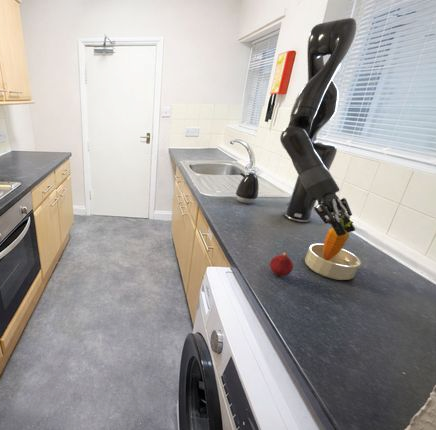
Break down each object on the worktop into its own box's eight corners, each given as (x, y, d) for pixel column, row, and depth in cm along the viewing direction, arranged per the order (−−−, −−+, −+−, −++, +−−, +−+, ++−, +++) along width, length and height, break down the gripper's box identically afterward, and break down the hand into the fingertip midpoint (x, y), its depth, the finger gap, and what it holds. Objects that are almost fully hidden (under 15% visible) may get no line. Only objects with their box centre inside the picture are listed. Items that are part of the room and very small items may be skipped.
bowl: (297, 255, 91) (302, 241, 89) (339, 260, 89) (346, 246, 87) (314, 277, 80) (320, 262, 78) (362, 285, 78) (370, 269, 75)
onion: (291, 283, 78) (300, 260, 74) (270, 280, 79) (278, 257, 75) (284, 271, 83) (292, 249, 79) (264, 268, 84) (271, 247, 80)
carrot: (336, 260, 85) (356, 218, 79) (334, 267, 82) (355, 224, 75) (318, 254, 88) (335, 213, 82) (315, 260, 85) (333, 218, 78)
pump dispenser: (236, 196, 142) (242, 169, 136) (257, 201, 137) (265, 172, 130) (231, 202, 135) (238, 173, 128) (253, 207, 129) (261, 177, 123)
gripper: (317, 179, 77) (348, 234, 72) (343, 174, 83) (373, 224, 79) (293, 190, 83) (320, 241, 79) (318, 185, 89) (345, 232, 85)
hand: (346, 232), depth 79 cm, fingers closed on carrot, 4 cm apart
